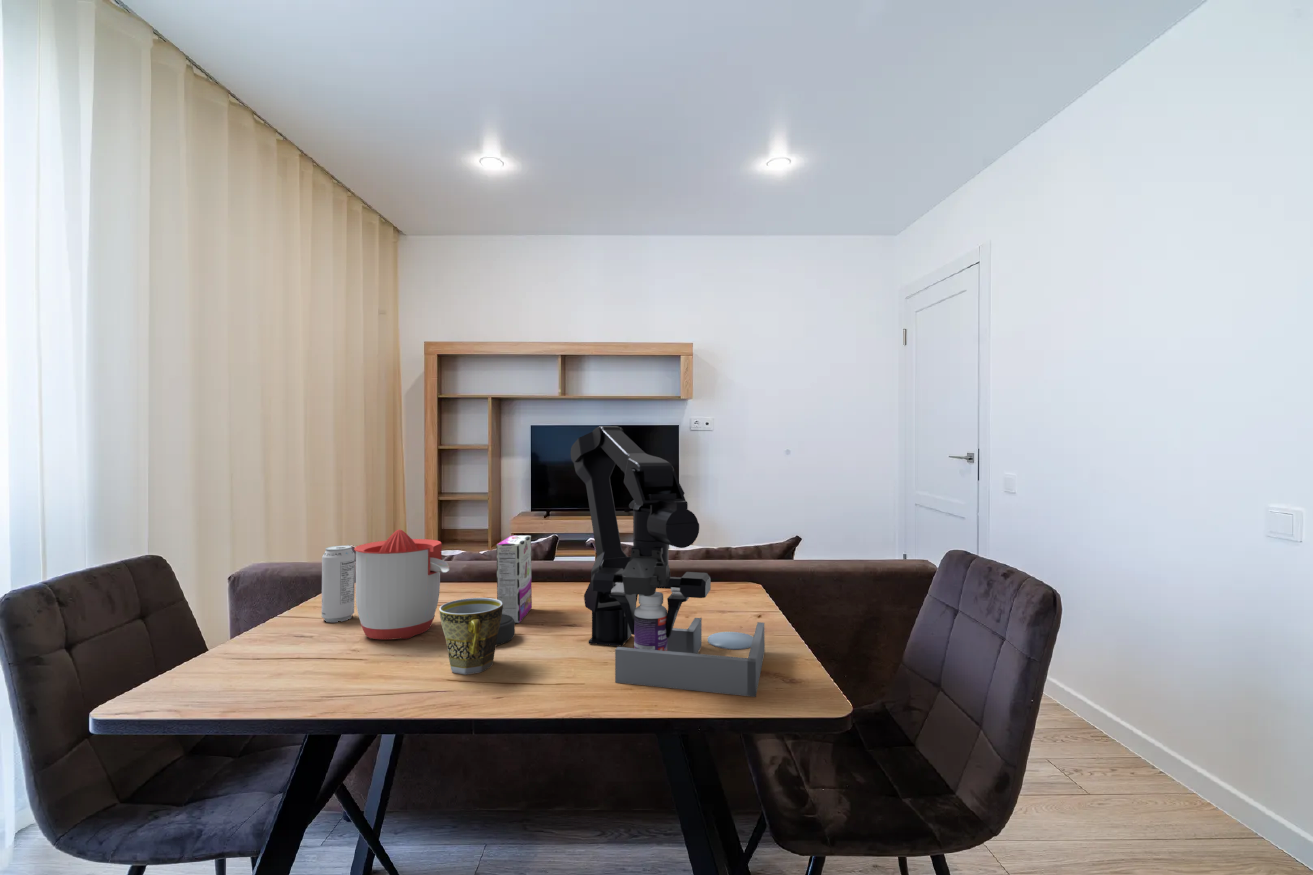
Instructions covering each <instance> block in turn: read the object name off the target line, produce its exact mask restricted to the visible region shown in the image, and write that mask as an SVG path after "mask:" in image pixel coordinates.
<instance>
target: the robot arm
mask: <svg viewBox="0 0 1313 875" xmlns="http://www.w3.org/2000/svg"><path fill="white" fill-rule="evenodd" d="M570 459H571V462H572V463H573V466H574V470H575V474H576V475H577V476H578V477H579V478H580V480H581V481H582V482H583V483H584V485H585V488H586V493H587V499H588V507H589V513H590V519H591V524H592V525H591V526H592V532H593V540H594V545H595V552H596V558H595V561H594V563H593V566H592V568H591V570H590V577H591V578H590V582H589V584H588V586H587V588H586V590H585V592H584V594H583V600H584V601H583V602H584V606H585V607H586V608H587V609H588V610H590V611H591V637H590V639H588V644H590V645H598V646H599V645H601V646H611V647H612V646H613V647H624V644H626V642H627V641H628V640H629V639H630V638H631V637H632V635H633V636H634V612H635V609H636V608H637V602H638V598H639V594H641V595H644V596H651V595H653V594H654V593H655V592H657V589H665V590H666V589H667V590H670V593H671V594H670V595H669V596H668V597H667V599H666V600H667V624H666V637H667V638H669V637H670V635H671V632H672V629H673V628H674V626H675V622H676V619H677V616H678V614H679V611H680V609H681V606H682V604H683V603H685V602H687V601H688V600H689V599H690V598H691V599H692V598H694V599H696V598H697V599H704V598H707V596H708V594H709V593H710V591H711V580H712V579H711V576H710V575H709V574H708V572H695V571H686V572H684V574H683V575H682V576H681V577H679V576H678V577H676V576H671V570H670V565H669V549H670V546H672V547H675V548H679V549H685V548H687V547H690V546H692V544H694V543H695V541H696V540H697V538H698V536H699V533H700V523H699V521H698V518H697V517H696V514H695V513H694V512H692V511H691V510H689V506H688V505H689V503H688V501H687V500H686V498H685V492H684V489H683V487H682V486H681V484H680V481H679V478H678V476H677V473H676V470H675V469H674V467H673V465H672V464H671V463H670V462H669V461H667V460H666V459H664V458H661V457H658V456H655V455H651V454H648V453H646V452H645V451H644V450H642V448H640V447H639V446H638V445H637V444H636V443H635V442H634V440H632V439H631V438H630V437H629V436H628V435H627V434H626V433H625V431H624V429H623V428H622V427H620V426H618V425H599V426H597V427H595V428H594V429H593V430H592V431H591V432H589V433H586V434H584V435H582V436H580V437H578V438H577V439H576V440H575V441H574V443H573V444H572V445H571V447H570ZM616 465H617V467H619V469H620V470H621V471H622V472H623V473H624V477H623V478H624V479H623V484H624V485H625V487H626V488H627V490H628V492H629V494H630V496H631V498H632V501H630V502H629V504H628V508H629V509H632V510H633V511H632V514H633V516H632V519H633V520H632V522H633V523H632V524H633V526H632V528H633V529H632V535H633V536H632V538H633V539H632V543H633V544H632V546H631V551H630V556H628V555H627V554H626V553H625V551H623V548H622V543H621V537H620V531H619V525H618V519H617V512H616V508H615V501H614V495H613V490H612V485H611V483H612V482H611V476H612V474H613V471H614V469H615V466H616Z"/></svg>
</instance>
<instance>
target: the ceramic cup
mask: <svg viewBox="0 0 1313 875" xmlns="http://www.w3.org/2000/svg"><path fill="white" fill-rule="evenodd" d="M438 610H439V612H438V613H439V618H440V623H441V627H442V631H443V635H444V638H445V642H446V647H447V655H448V659H449V665H450V670H451V672H452V673H454V674H459V675H464V676H465V675H473V674H479V673H482V672H484V671H487V670H488V669H490V668H491V667H492V666H493V664H494V658H495V652H496V647H497V645H496V642H497V636H498V631H499V627H500V622H501V617H502V610H503V602H502V601H500V600H497V598H489V597H472V598H471V597H470V598H462V599H457V600H456V599H455V600H451V601H449V602H446V603H444V604H442V605H440V606H439V609H438Z"/></svg>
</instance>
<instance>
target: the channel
mask: <svg viewBox="0 0 1313 875" xmlns="http://www.w3.org/2000/svg"><path fill="white" fill-rule="evenodd" d="M702 619H703V618H702V617H694V618H693V620H692V622H691V623H690V624H689V626H688V628H679V627H678V628H677V627H673V629H672V632H671V635H670V637H669V638H667V651H661V650H649V649H638V648H634V647H625V646H616V648H615V649H614V660H615V661H614V662H615V663H614V665H615V666H614V675H615V676H614V677H615V680H614V683H618V684H626V685H627V684H629V685H638V686H646V687H647V686H648V687H654V688H655V687H657V688H666V689H674V690H675V689H676V690H686V691H687V690H688V691H695V692H696V691H697V692H707V693H713V694H714V693H715V694H723V695H724V694H725V695H732V696H733V695H734V696H735V695H736V696H743V697H744V696H745V697H753V698H755V697H757V692H758V687H759V682H760V676H761V672H762V667H763V661H764V656H765V651H766V648H765V644H766V642H765V641H766V640H765V622H758V621H757V622H756V627H755V630H754V633H753V641H752V645H751V648H749V649H750V650H749V654H748V657H740V656H739V657H738V656H728V655H718V654H716V655H715V654H705V653H699V652H700V650H701V648H702V641H703V640H702V638H703V637H702V635H703V633H702V631H703V630H702V628H703V627H702Z"/></svg>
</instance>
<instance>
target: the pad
mask: <svg viewBox="0 0 1313 875" xmlns="http://www.w3.org/2000/svg"><path fill="white" fill-rule="evenodd" d="M753 637H754V635H750V634H748V633H744V632H737V631H721V632H715V633H712V634H710V635H709V636H707V643H708V644H709V645H711V646H713V647H715V648H719V649H724V650H733V651H734V650H746V649H750V648H751V645H752V641H753Z"/></svg>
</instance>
